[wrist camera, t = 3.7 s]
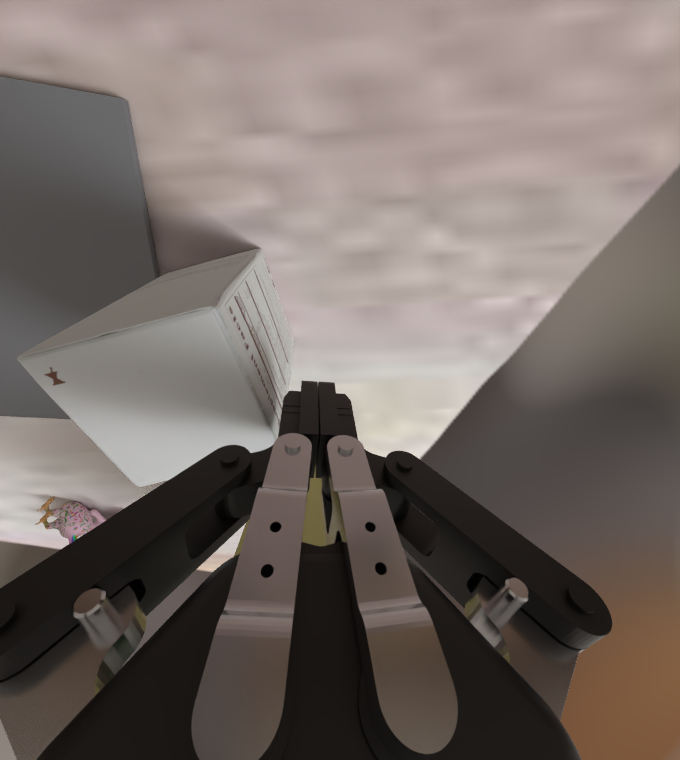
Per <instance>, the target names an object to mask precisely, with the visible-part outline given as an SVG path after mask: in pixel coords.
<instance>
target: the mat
mask: <svg viewBox="0 0 680 760" xmlns="http://www.w3.org/2000/svg"><path fill="white" fill-rule="evenodd" d="M157 278H159V272H158V266H157V261H156V255H155V250H154V244H153V238H152V233H151V227H150V222H149V216H148V211H147V205H146V199H145V194H144V188H143V183H142V177H141V172H140V166H139V161H138V155H137V149H136V144H135V138H134V133H133V127H132V122H131V116H130V110H129V105H128V101H126V100H124V99H122V98H118V97H112V96H107V95H101V94H96V93H90V92H85V91H79V90H74V89H68V88H63V87H57V86H52V85H46V84H41V83H35V82H30V81H24V80H19V79H13V78H8V77H2V76H0V416H16V417H37V418H58V419H71V418H70V417H69V416H68V415H67V414H66V413H65V412H64V411H63V410H62V409H61V408H60V407H59V406H58V405H57V403H56V402H55V401H54V400H53V399H52V398H51V397H50V396H49V395H48V394H47V393H46V392H45V391H44V390H43V389H42V387H41V386H40V385H39V384H38V383H37V382H36V381H35V380H34V378H33V377H32V376H31V375H30V374H29V373H28V371H27V370H26V369H25V368H24V367H23V366H22V364H21V363H20V362H19V361H18V360H17V357H18V356H19V355H20V354H22V353H24V352H26V351H27V350H29V349H31V348H33V347H35V346H36V345H38V344H40V343H42V342H43V341H45V340H47V339H49V338H51V337H52V336H54V335H56V334H58V333H60V332H61V331H63V330H65V329H67V328H69V327H70V326H72V325H74V324H76V323H78V322H79V321H81V320H83V319H85V318H87V317H88V316H90V315H92V314H94V313H96V312H97V311H99V310H101V309H103V308H105V307H106V306H108V305H110V304H112V303H114V302H115V301H117V300H119V299H121V298H123V297H124V296H126V295H128V294H130V293H132V292H133V291H135V290H137V289H139V288H141V287H142V286H144V285H146V284H148V283H149V282H151V281H153V280H155V279H157Z"/></svg>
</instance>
